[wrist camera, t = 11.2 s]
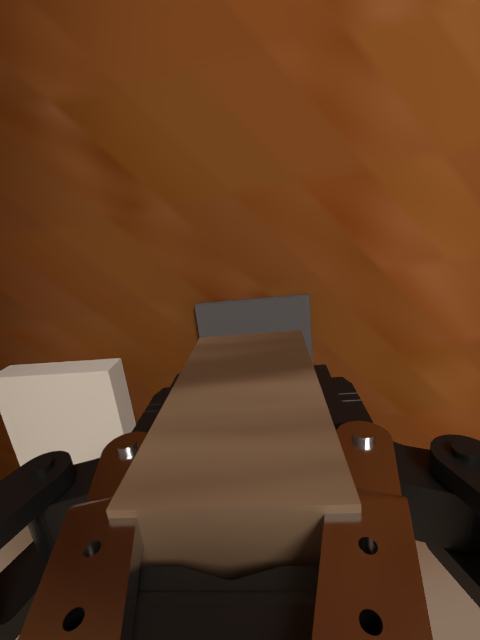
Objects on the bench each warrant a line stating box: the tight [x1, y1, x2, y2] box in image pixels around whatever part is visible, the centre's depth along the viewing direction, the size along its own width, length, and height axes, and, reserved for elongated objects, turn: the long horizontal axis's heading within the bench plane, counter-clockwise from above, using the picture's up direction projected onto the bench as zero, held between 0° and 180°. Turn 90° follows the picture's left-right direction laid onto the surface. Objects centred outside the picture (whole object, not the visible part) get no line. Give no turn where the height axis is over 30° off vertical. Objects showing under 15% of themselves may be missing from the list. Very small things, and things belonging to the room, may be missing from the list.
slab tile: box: [0, 358, 136, 467], centre depth 20 cm, size 2×7×8 cm
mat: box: [195, 294, 312, 360], centre depth 18 cm, size 7×6×1 cm
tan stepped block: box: [106, 330, 361, 580], centre depth 10 cm, size 11×4×8 cm, turn 6°
